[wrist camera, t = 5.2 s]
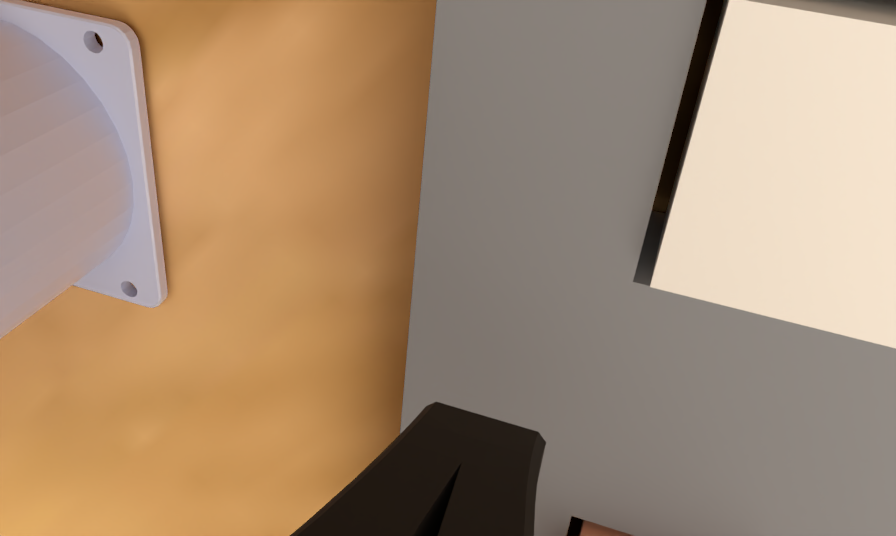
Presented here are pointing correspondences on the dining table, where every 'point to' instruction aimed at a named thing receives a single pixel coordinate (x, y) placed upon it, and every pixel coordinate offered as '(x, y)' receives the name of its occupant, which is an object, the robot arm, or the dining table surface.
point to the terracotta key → (599, 530)
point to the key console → (618, 295)
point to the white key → (792, 169)
